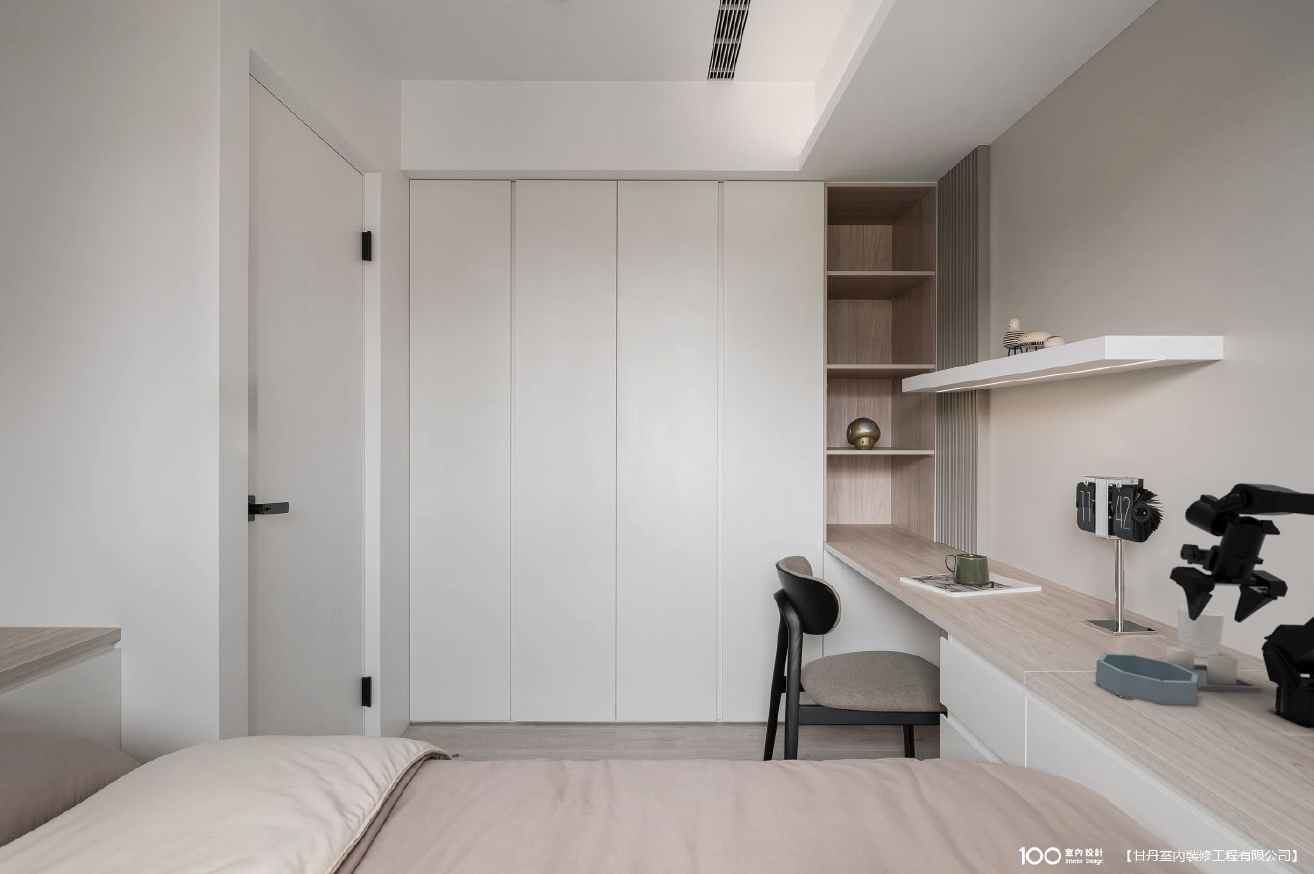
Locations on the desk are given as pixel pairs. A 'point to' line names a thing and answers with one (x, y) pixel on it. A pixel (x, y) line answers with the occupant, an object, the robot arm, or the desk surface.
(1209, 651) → the white cup
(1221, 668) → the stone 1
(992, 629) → the desk surface
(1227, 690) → the parts tray
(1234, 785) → the desk surface
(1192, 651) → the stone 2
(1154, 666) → the bowl
